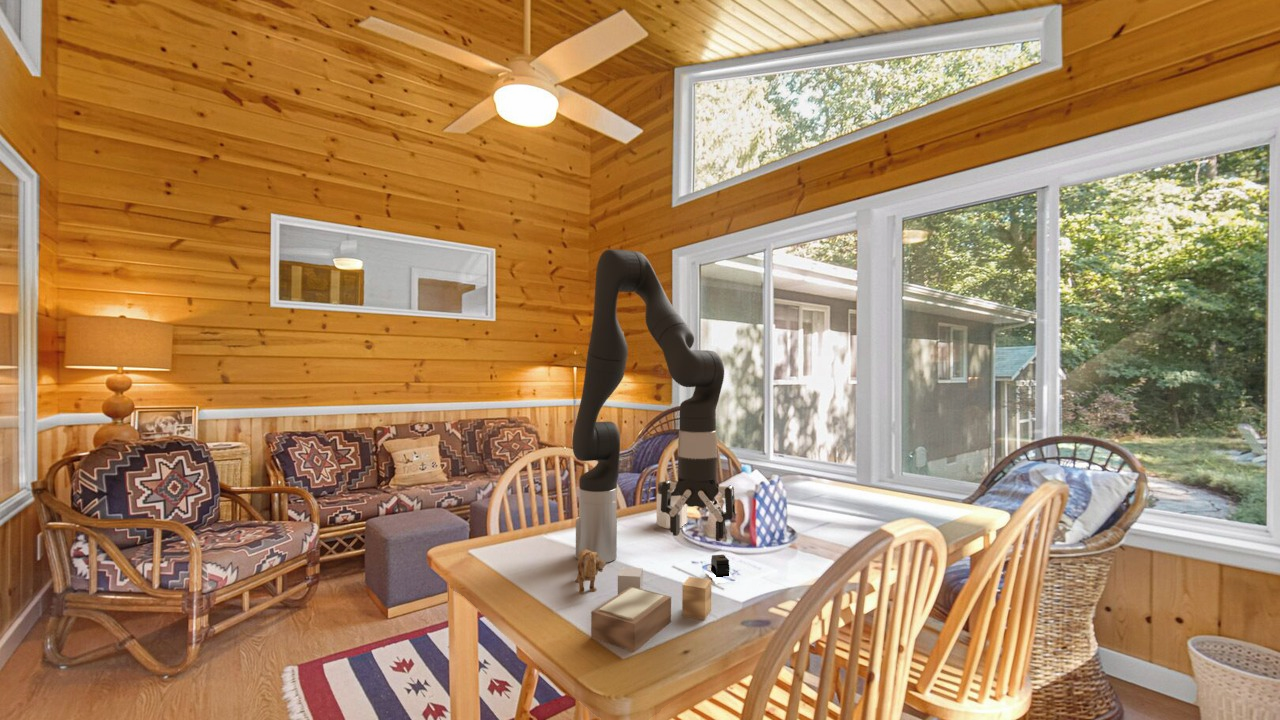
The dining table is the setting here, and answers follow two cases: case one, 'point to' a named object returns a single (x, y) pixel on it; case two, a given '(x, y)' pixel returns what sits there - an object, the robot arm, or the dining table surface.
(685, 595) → the oak block
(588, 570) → the lion figurine
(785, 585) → the dining table surface
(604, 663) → the dining table surface
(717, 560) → the black block
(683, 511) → the jar
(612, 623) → the plinth
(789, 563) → the dining table surface
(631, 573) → the grey block
